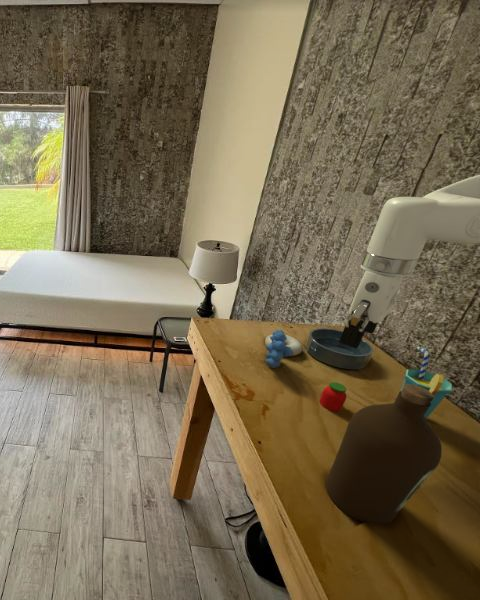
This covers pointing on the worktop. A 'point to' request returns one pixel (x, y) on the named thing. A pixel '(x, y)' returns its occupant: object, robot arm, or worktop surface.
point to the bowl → (337, 349)
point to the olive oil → (384, 457)
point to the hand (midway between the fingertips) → (356, 337)
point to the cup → (428, 382)
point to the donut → (288, 344)
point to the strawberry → (333, 396)
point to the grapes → (277, 349)
